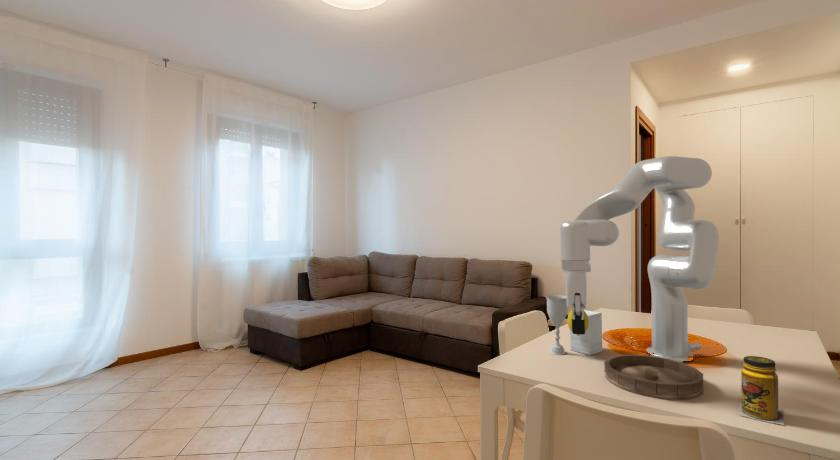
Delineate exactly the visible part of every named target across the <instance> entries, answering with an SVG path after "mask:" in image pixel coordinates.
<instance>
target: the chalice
mask: <svg viewBox="0 0 840 460" xmlns="http://www.w3.org/2000/svg"><path fill="white" fill-rule="evenodd" d="M544 297H545V298H546V312H547V315H548V317H549V319H550V321H551V324H552V325H553V326H555V330H554V334H555V336H554V338H555V343H554V344H552V345H551V347H550V350H549V354H552V355H557V356H562V355H566V351H565V347H564V346H563V345H562V344H561V343H560V339H561V336H560V332H561V331H560V326H562V325H563V324H564V321H565V320H566V318H567V316H568V308H567V302H566V295H562V294H549V295H548V294H547V295H545V296H544Z"/></svg>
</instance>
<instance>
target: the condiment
mask: <svg viewBox="0 0 840 460" xmlns="http://www.w3.org/2000/svg"><path fill="white" fill-rule="evenodd" d="M742 365H743V368H742V369H741V373H740V374H741V385H740V386H741V389H740V390H741V401H739V406H738V416H742V417H746V418H749V419H753V420H757V421H762V422H766V423H772V424H776V425H777V424H778V425H782V426H785V419H784V413H783V409H779V407H780V406H779V375H778V374H777V369H776V361H774V360H773V359H771V358H768V357H764V356H756V355H746V356H744V358H743V364H742Z"/></svg>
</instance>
